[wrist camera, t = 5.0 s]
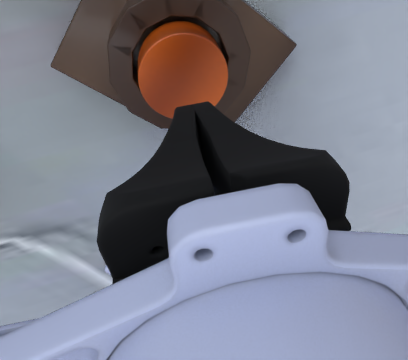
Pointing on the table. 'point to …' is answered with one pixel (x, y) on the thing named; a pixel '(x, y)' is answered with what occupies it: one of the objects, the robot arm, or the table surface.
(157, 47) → the lamp button
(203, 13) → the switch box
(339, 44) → the table surface
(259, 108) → the table surface
